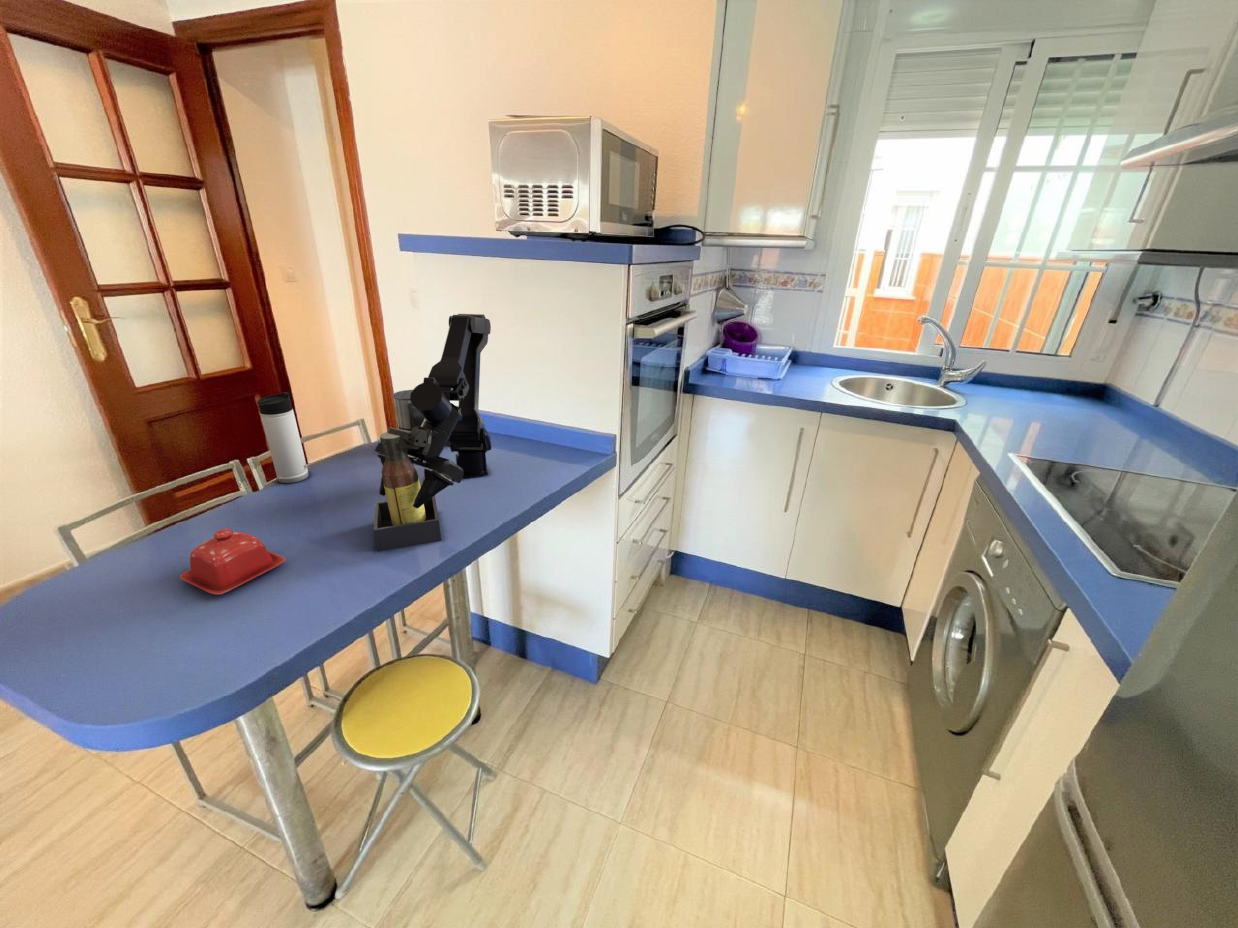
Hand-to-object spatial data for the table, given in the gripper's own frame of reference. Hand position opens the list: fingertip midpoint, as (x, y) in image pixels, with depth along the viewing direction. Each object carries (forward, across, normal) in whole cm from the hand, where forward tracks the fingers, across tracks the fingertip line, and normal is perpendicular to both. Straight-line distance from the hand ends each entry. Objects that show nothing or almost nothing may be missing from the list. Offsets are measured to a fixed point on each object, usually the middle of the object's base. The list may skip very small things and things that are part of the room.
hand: (397, 501), depth 95 cm
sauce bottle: (+4, 0, +6) cm, 7 cm away
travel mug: (+3, -42, +8) cm, 43 cm away
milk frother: (-20, -31, +31) cm, 48 cm away
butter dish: (+22, -13, -11) cm, 28 cm away
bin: (+4, 0, +6) cm, 7 cm away
